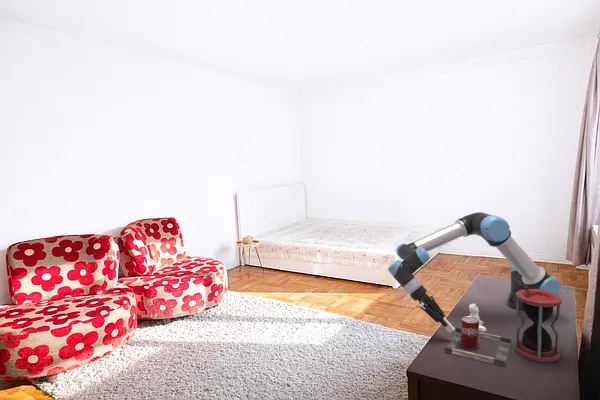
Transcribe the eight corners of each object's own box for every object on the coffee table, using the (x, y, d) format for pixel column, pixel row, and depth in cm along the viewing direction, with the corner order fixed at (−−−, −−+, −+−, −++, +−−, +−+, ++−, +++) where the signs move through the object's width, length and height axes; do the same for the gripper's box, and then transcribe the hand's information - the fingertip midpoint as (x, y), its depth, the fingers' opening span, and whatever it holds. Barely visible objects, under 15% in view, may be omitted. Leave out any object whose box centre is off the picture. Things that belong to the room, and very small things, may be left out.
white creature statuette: (487, 333, 183) (487, 308, 182) (467, 331, 185) (467, 307, 184) (482, 324, 192) (482, 300, 191) (463, 323, 194) (464, 300, 193)
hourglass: (555, 346, 168) (557, 290, 165) (563, 365, 154) (565, 304, 151) (513, 340, 175) (514, 286, 172) (516, 358, 160) (517, 300, 157)
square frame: (456, 331, 186) (456, 327, 186) (510, 342, 173) (511, 338, 173) (444, 352, 168) (444, 347, 168) (504, 366, 155) (504, 361, 155)
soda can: (480, 350, 168) (481, 323, 167) (462, 349, 170) (462, 322, 168) (476, 341, 175) (476, 316, 174) (459, 341, 177) (459, 315, 175)
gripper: (414, 289, 190) (449, 329, 183) (405, 298, 179) (442, 341, 172) (425, 280, 187) (461, 321, 179) (416, 289, 176) (455, 332, 169)
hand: (452, 331), depth 176 cm, fingers closed
